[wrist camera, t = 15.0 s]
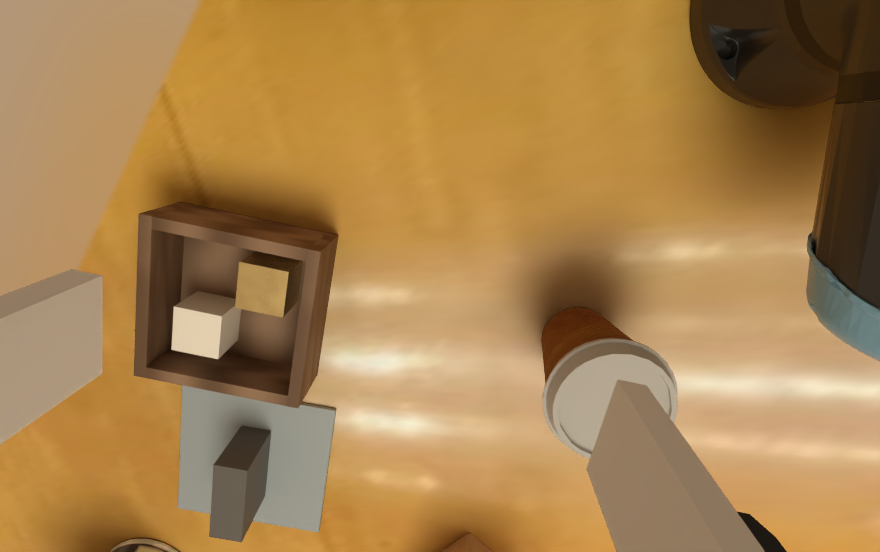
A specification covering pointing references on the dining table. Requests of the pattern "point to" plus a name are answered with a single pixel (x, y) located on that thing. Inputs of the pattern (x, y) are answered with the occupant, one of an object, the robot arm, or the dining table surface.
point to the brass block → (268, 283)
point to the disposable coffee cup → (594, 374)
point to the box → (216, 272)
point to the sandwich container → (467, 545)
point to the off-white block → (205, 325)
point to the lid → (253, 461)
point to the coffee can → (143, 546)
